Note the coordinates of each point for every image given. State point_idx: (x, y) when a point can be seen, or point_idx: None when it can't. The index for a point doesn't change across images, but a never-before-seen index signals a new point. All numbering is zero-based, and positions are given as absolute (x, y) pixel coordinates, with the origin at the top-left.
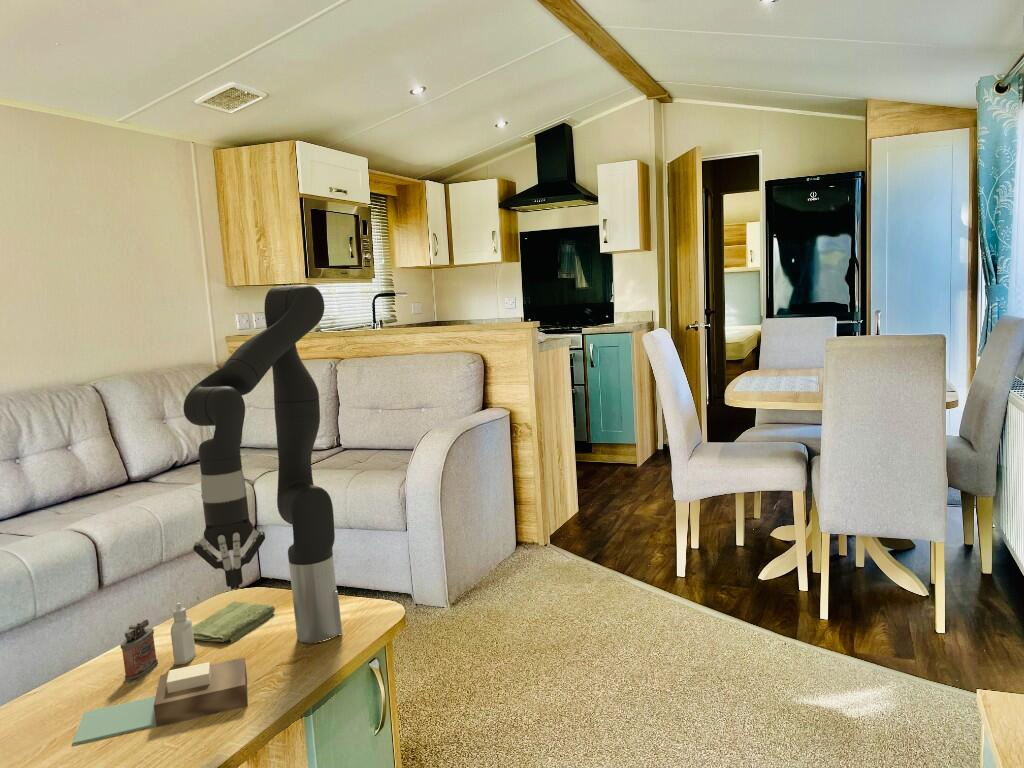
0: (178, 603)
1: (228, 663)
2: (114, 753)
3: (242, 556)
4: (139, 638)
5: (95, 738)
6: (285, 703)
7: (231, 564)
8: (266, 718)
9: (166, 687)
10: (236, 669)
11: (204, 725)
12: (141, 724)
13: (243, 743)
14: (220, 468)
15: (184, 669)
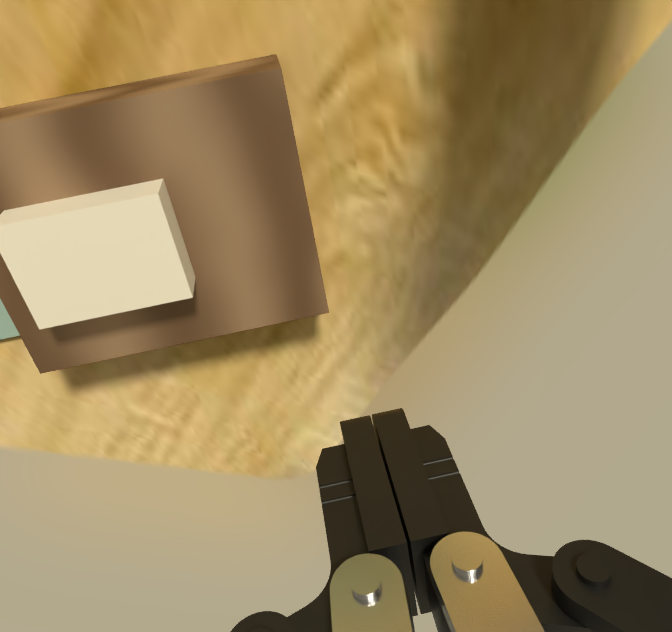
0: None
1: (218, 113)
2: (3, 426)
3: (553, 628)
4: None
5: None
6: (431, 289)
7: (408, 594)
8: (383, 351)
9: None
10: (270, 185)
11: (213, 350)
12: (2, 323)
13: (340, 439)
14: None
15: (63, 236)
